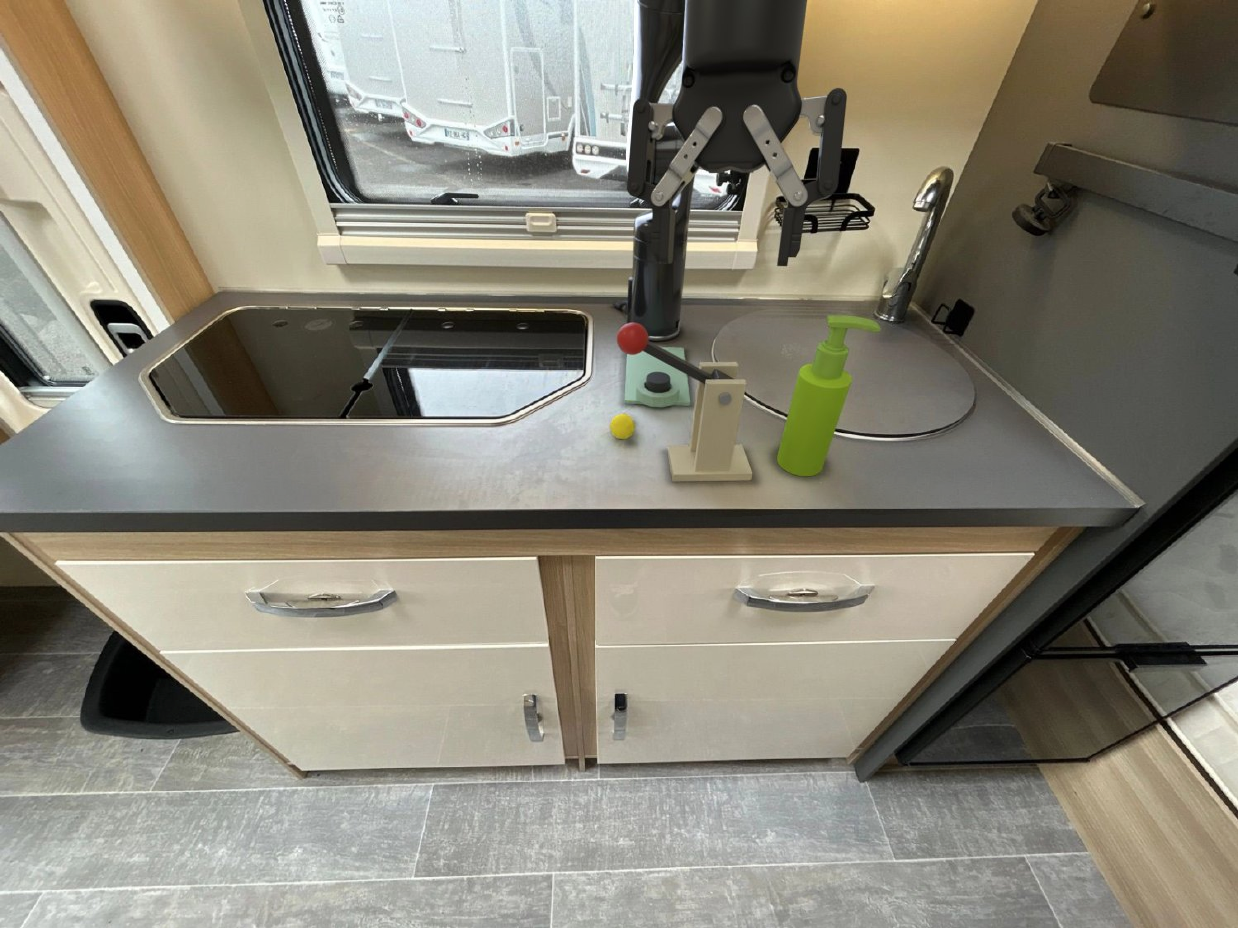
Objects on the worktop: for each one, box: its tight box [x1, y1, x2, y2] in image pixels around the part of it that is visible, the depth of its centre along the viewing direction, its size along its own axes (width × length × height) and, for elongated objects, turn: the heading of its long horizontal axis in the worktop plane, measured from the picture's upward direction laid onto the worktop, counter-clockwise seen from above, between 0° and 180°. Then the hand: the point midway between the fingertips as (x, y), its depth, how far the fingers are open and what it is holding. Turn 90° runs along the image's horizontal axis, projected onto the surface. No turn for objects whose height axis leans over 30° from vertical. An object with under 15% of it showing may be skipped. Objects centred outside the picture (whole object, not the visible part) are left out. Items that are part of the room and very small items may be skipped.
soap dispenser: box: [776, 314, 882, 477], centre depth 63 cm, size 6×7×20 cm
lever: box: [616, 322, 733, 388], centre depth 59 cm, size 15×3×3 cm, turn 92°
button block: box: [623, 346, 691, 408], centre depth 85 cm, size 20×10×2 cm, turn 178°
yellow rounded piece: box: [609, 413, 636, 440], centre depth 73 cm, size 3×6×4 cm, turn 175°
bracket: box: [666, 361, 753, 483], centre depth 64 cm, size 10×6×14 cm, turn 92°
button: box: [646, 372, 671, 393], centre depth 79 cm, size 4×4×2 cm
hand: (722, 264), depth 39 cm, fingers open, 8 cm apart
